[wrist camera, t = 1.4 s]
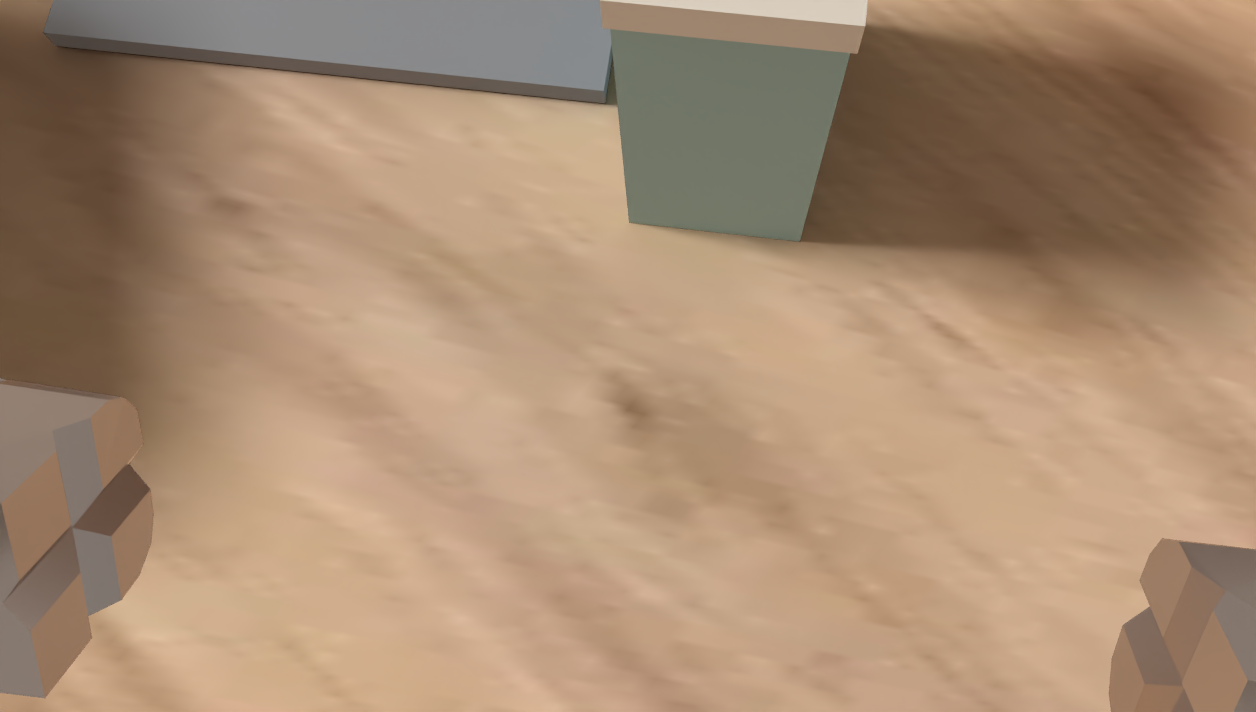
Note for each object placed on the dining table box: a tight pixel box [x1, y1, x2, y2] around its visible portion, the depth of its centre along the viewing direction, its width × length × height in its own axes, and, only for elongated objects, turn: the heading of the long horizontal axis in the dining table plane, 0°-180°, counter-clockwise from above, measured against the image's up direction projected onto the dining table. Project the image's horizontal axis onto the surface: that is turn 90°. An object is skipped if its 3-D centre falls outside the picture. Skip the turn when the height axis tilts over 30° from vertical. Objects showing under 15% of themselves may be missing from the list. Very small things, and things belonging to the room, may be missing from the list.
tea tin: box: [600, 0, 868, 242], centre depth 23 cm, size 4×6×9 cm
